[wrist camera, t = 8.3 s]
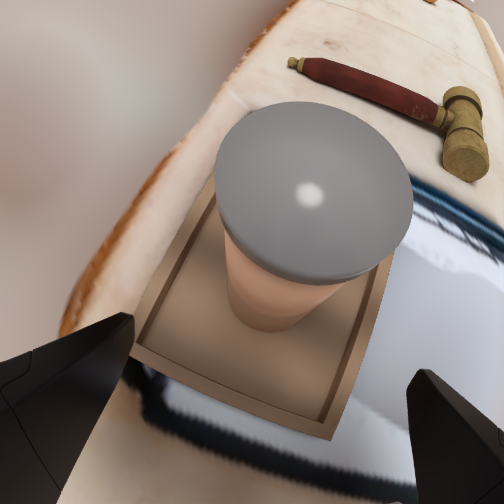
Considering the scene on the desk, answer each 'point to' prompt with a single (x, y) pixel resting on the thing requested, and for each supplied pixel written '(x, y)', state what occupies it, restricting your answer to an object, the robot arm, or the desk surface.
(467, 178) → the gavel
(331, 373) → the walnut tray
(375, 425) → the desk surface
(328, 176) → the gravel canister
